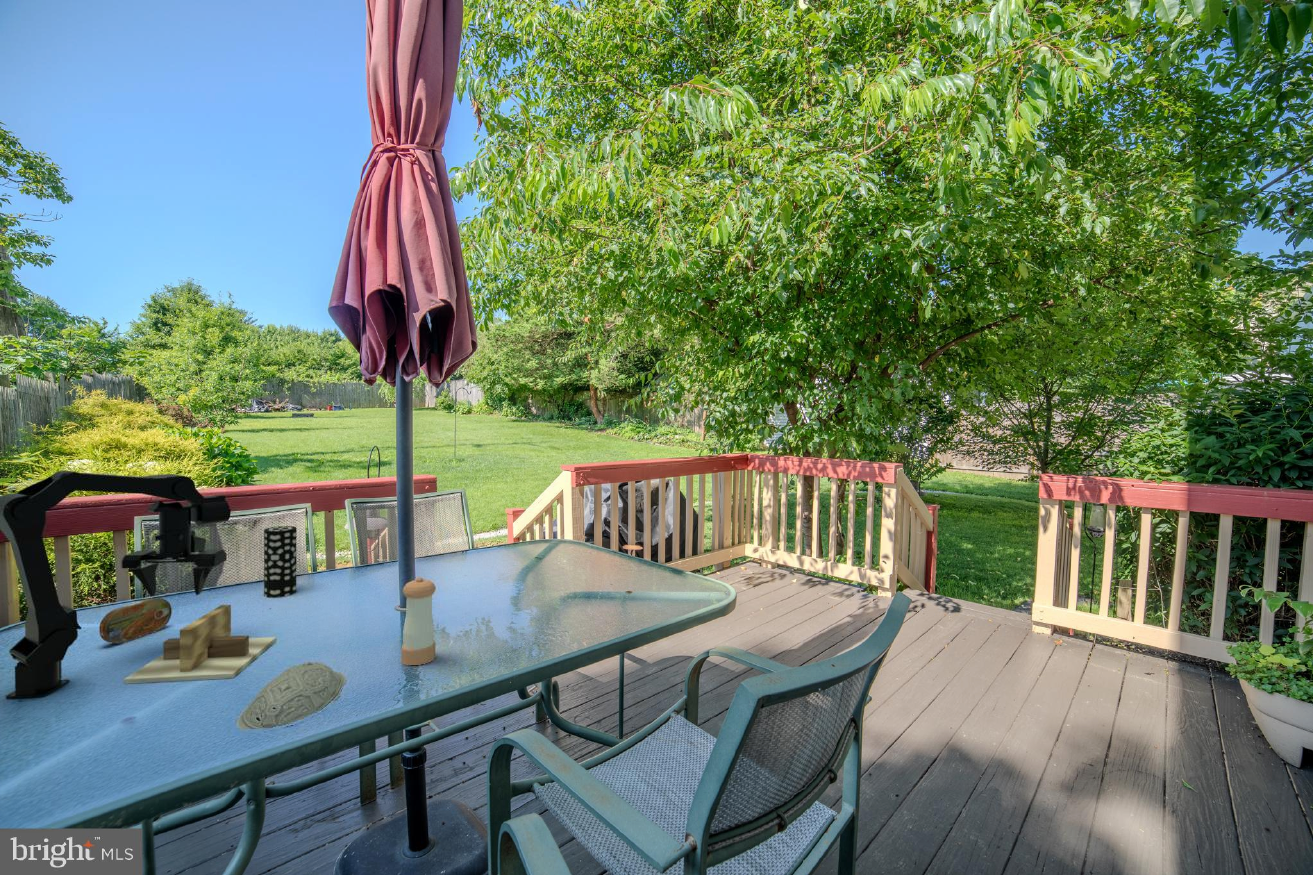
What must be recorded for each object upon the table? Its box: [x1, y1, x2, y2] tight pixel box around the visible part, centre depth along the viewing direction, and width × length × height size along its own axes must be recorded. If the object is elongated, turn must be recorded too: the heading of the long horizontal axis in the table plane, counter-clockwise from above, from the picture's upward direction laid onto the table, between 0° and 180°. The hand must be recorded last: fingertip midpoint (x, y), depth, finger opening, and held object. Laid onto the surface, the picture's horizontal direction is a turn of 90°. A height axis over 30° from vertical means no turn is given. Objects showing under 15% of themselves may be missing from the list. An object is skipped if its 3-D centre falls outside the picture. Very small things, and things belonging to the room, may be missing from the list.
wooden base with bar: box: [123, 635, 277, 685], centre depth 130 cm, size 20×20×5 cm
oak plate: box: [179, 604, 232, 672], centre depth 130 cm, size 16×2×9 cm, turn 11°
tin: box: [98, 597, 173, 645], centre depth 142 cm, size 15×3×8 cm, turn 168°
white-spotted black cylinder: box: [263, 525, 298, 599], centre depth 177 cm, size 8×8×20 cm
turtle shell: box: [236, 661, 347, 732], centre depth 114 cm, size 16×25×7 cm, turn 7°
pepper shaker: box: [400, 576, 437, 666], centre depth 133 cm, size 7×7×19 cm
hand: (175, 595), depth 134 cm, fingers open, 9 cm apart
